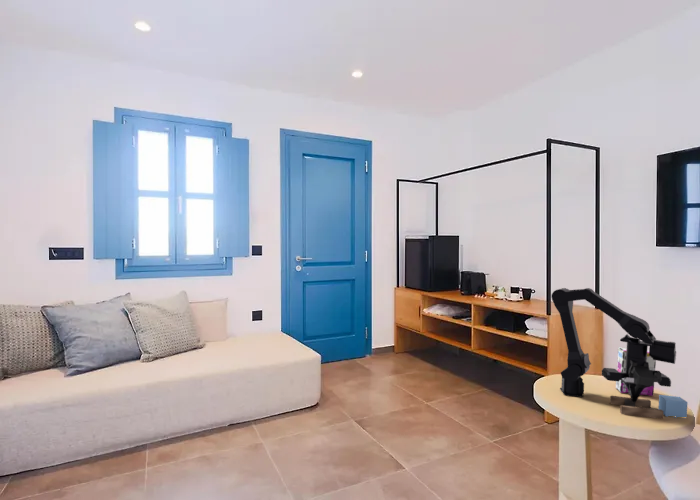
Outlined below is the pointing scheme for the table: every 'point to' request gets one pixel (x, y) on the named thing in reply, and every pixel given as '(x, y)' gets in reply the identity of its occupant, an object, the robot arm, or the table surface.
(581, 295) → the robot arm
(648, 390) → the candy bar box
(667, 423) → the table surface
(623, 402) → the brown rails
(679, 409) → the block
